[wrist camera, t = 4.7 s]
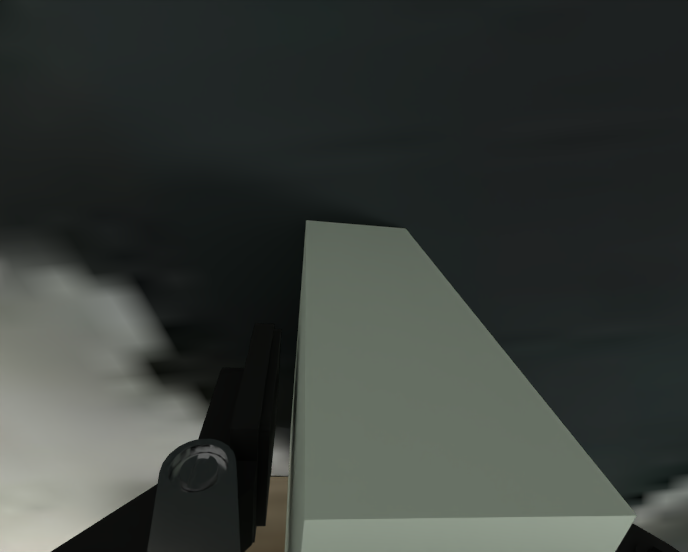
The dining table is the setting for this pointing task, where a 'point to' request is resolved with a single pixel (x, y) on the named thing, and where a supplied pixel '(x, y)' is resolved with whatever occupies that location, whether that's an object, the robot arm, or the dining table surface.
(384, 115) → the dining table surface
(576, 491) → the rectangular block
